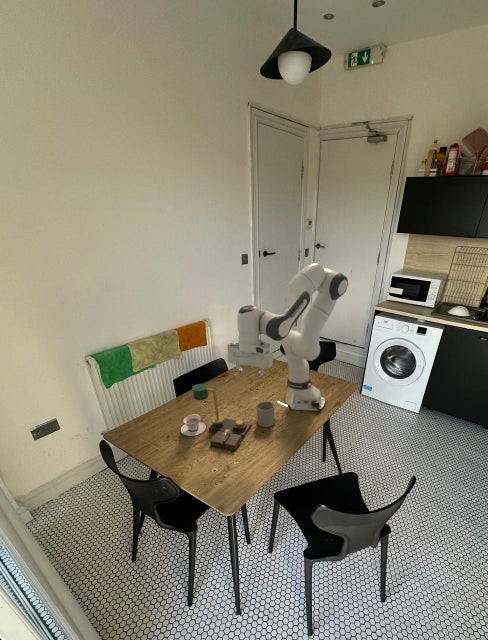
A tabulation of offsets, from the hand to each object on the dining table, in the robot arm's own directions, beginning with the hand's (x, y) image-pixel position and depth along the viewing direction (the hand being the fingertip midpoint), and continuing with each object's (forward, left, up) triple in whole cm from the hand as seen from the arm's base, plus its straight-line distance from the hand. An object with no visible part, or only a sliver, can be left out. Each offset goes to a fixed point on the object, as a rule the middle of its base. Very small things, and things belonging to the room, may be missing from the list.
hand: (250, 373), depth 144 cm
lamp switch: (+5, +5, -26) cm, 27 cm away
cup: (-5, -5, -29) cm, 30 cm away
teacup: (+27, +11, -29) cm, 41 cm away
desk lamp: (+20, +5, -26) cm, 33 cm away
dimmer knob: (+7, +16, -26) cm, 31 cm away
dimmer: (+7, +16, -29) cm, 34 cm away
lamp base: (+10, +5, -29) cm, 31 cm away
